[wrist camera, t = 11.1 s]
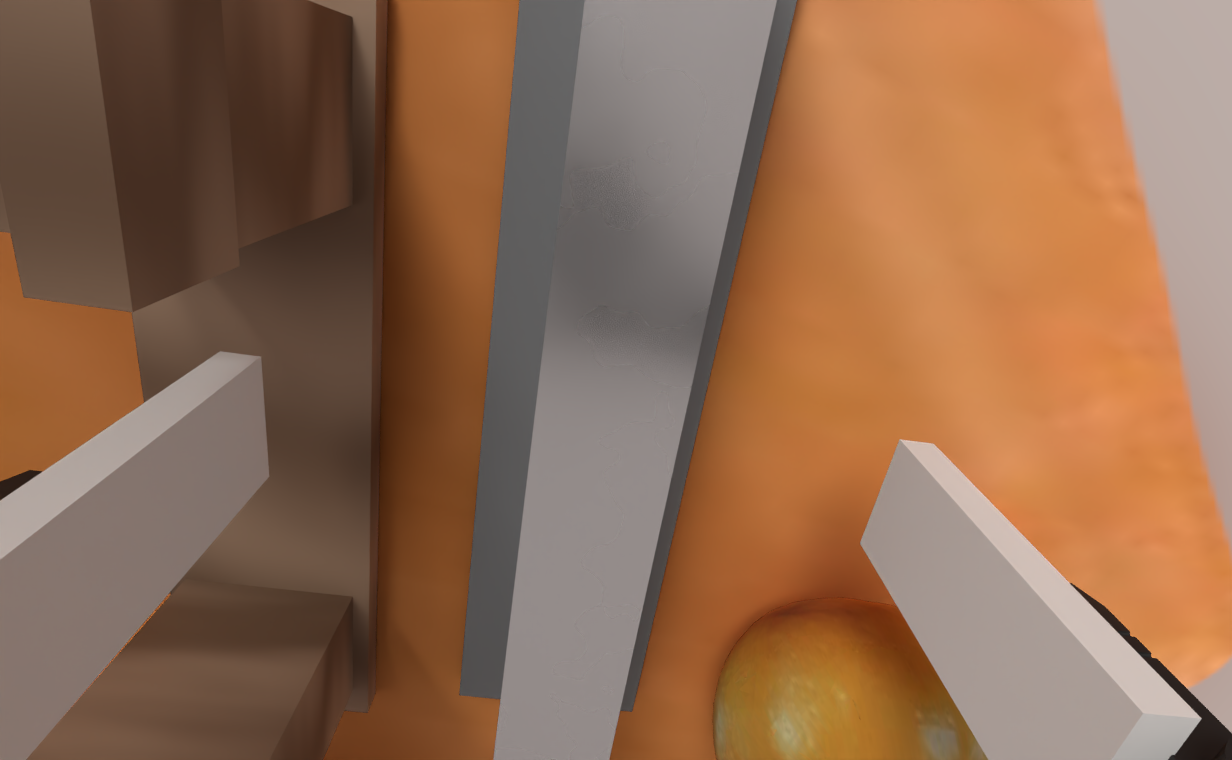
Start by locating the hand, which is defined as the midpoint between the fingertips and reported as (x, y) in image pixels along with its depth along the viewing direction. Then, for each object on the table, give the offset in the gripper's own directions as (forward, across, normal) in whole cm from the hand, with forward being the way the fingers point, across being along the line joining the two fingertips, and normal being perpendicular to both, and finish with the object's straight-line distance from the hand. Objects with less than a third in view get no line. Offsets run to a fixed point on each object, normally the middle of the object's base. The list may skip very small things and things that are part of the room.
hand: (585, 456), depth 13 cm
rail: (+4, 0, 0) cm, 4 cm away
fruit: (+5, +9, -9) cm, 13 cm away
